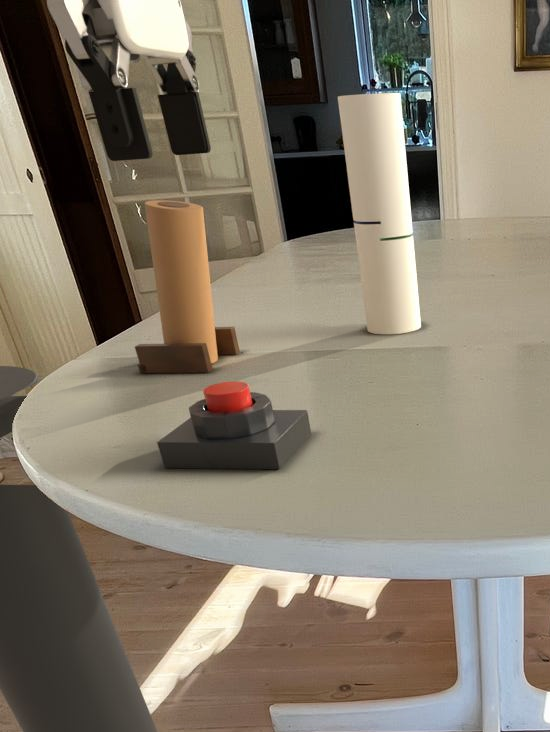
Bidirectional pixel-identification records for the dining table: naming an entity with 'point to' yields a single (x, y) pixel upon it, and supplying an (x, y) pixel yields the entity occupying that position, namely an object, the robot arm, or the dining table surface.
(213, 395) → the button
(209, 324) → the paper roll
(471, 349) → the dining table surface
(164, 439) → the button box
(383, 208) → the cylindrical container
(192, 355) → the roll stand
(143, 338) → the dining table surface
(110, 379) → the dining table surface
